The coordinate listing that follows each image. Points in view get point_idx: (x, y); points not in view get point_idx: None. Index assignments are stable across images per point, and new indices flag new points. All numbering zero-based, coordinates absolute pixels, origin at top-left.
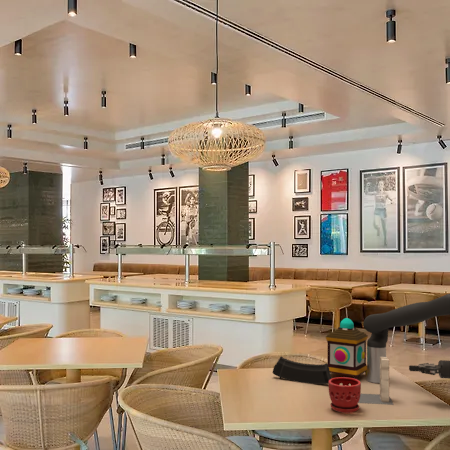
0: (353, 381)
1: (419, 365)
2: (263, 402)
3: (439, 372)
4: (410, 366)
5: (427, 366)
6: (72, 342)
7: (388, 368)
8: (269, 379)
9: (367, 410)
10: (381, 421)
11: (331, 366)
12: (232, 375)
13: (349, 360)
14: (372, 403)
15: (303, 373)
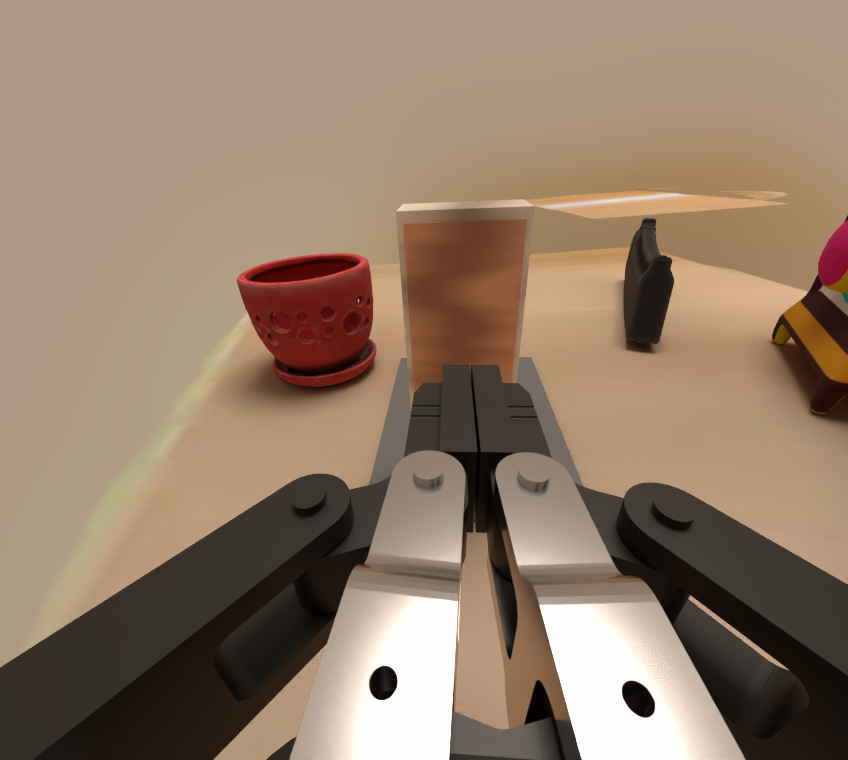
0: (338, 286)
1: (518, 476)
2: (398, 283)
3: None
4: (443, 371)
5: (333, 675)
6: (660, 197)
7: (402, 290)
8: (606, 278)
9: (308, 414)
10: (151, 439)
11: (809, 303)
12: (596, 254)
13: None
14: (386, 428)
15: (631, 280)
